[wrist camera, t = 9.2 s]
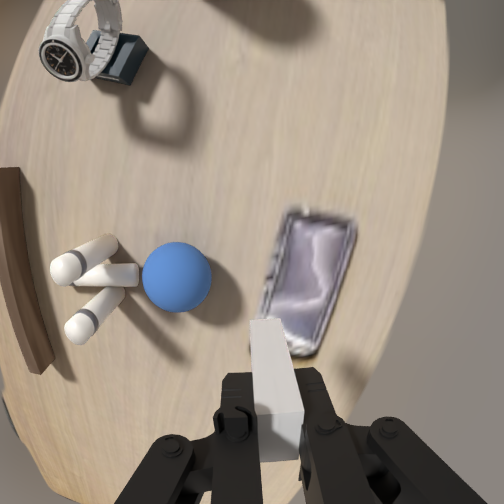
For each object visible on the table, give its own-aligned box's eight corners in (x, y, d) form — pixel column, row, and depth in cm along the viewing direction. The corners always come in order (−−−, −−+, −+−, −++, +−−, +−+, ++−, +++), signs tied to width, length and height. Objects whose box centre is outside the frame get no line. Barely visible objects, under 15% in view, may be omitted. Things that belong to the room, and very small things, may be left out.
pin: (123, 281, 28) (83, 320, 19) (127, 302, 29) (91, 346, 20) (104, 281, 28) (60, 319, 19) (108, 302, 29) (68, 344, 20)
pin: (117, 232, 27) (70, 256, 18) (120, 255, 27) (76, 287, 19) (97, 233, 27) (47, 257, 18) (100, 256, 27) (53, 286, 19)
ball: (136, 248, 21) (141, 242, 27) (145, 325, 22) (147, 304, 27) (215, 241, 23) (203, 237, 28) (220, 317, 23) (207, 298, 29)
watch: (80, 93, 23) (14, 66, 13) (112, 27, 21) (65, -22, 11) (123, 103, 24) (63, 71, 13) (157, 34, 22) (120, -24, 11)
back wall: (19, 167, 24) (-4, 168, 21) (55, 358, 30) (40, 374, 26) (8, 170, 24) (-14, 171, 21) (44, 356, 30) (29, 372, 26)
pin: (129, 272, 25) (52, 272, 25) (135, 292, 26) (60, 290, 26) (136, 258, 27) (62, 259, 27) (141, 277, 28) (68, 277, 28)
